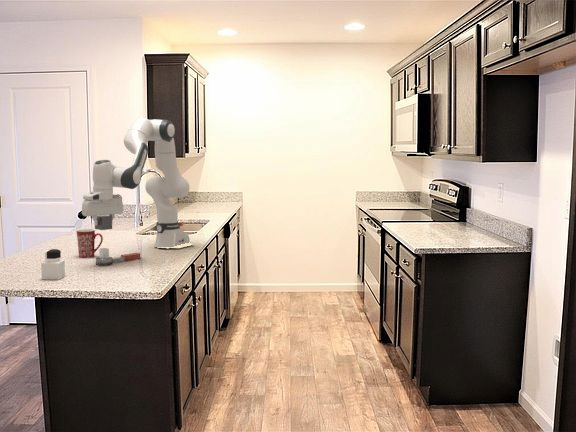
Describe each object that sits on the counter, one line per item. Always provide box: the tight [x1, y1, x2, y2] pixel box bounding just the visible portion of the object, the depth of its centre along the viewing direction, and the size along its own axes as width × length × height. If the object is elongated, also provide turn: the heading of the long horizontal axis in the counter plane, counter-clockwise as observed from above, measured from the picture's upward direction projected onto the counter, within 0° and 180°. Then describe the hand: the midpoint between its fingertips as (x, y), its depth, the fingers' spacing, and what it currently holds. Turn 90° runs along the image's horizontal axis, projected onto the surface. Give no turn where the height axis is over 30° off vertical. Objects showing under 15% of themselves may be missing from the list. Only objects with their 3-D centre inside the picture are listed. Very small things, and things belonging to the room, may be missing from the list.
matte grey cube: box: [94, 215, 113, 231], centre depth 261 cm, size 6×6×6 cm
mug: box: [75, 228, 104, 259], centre depth 280 cm, size 13×9×14 cm
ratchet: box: [95, 247, 141, 267], centre depth 269 cm, size 23×8×8 cm, turn 142°
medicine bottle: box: [40, 248, 66, 281], centre depth 234 cm, size 7×7×12 cm
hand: (103, 224), depth 261 cm, fingers closed on matte grey cube, 6 cm apart
